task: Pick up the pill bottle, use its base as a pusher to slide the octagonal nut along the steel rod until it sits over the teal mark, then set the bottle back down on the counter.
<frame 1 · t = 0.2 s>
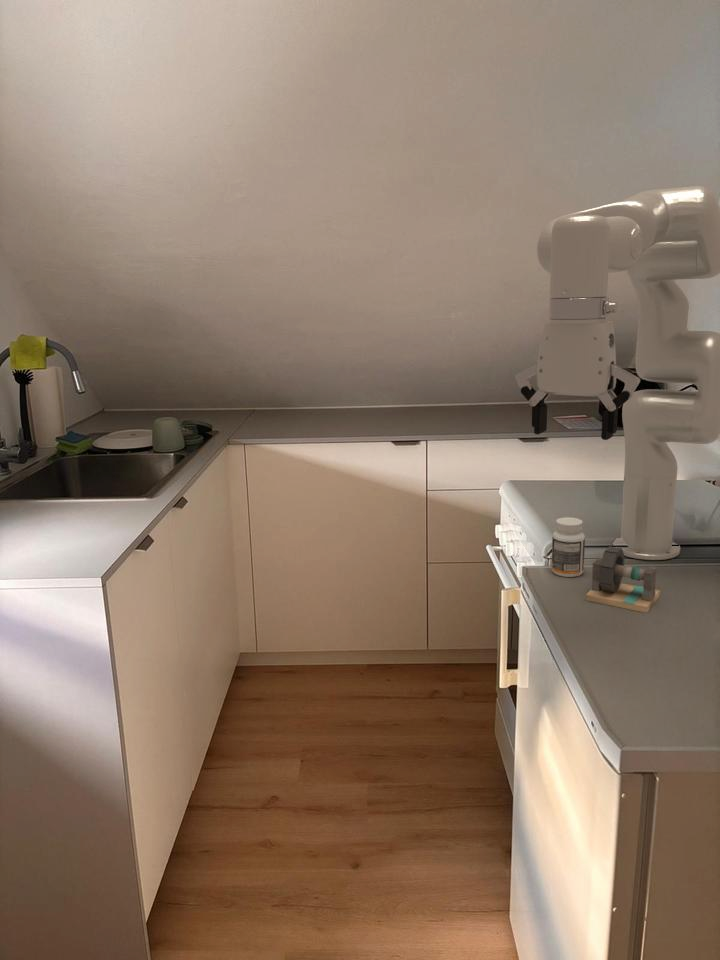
hand: (572, 435, 109), 31 cm above the countertop, tool pointing down, fingers open, 9 cm apart
octagonal nut: (612, 569, 129), point 5 cm above the countertop, slide at 0.0 cm
rail: (622, 598, 129), on the countertop
pill bottle: (567, 573, 142), on the countertop
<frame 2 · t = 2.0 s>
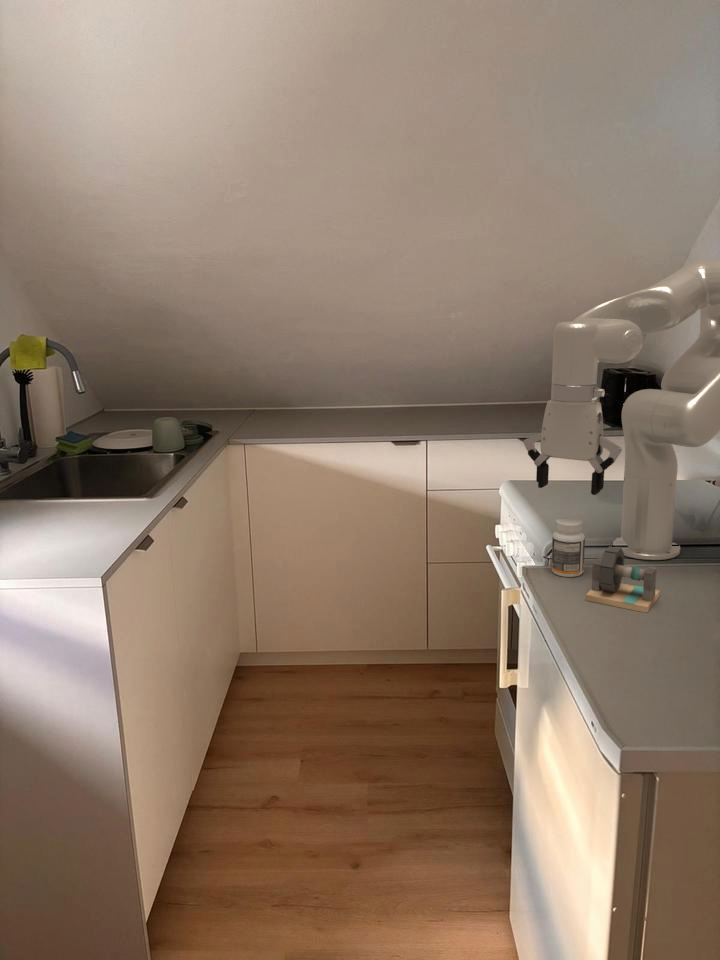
hand: (568, 489, 137), 16 cm above the countertop, tool pointing down, fingers open, 9 cm apart
nothing on the countertop moved.
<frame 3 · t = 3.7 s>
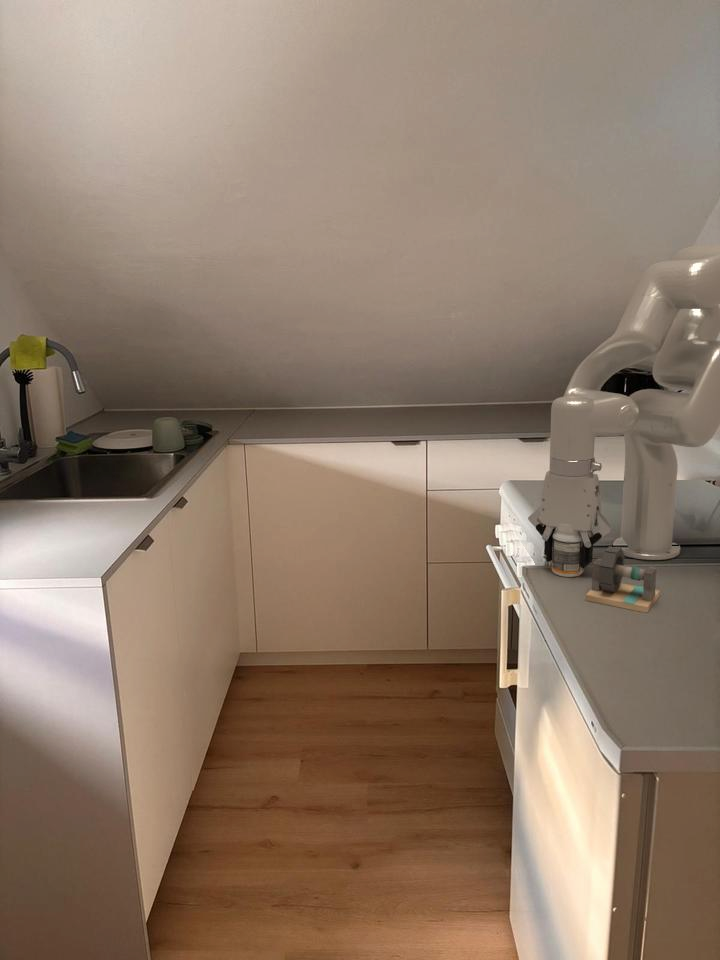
hand: (567, 561, 141), 2 cm above the countertop, tool pointing down, fingers closed on pill bottle, 5 cm apart
pill bottle: (567, 573, 142), on the countertop, touching gripper
everything else where it was.
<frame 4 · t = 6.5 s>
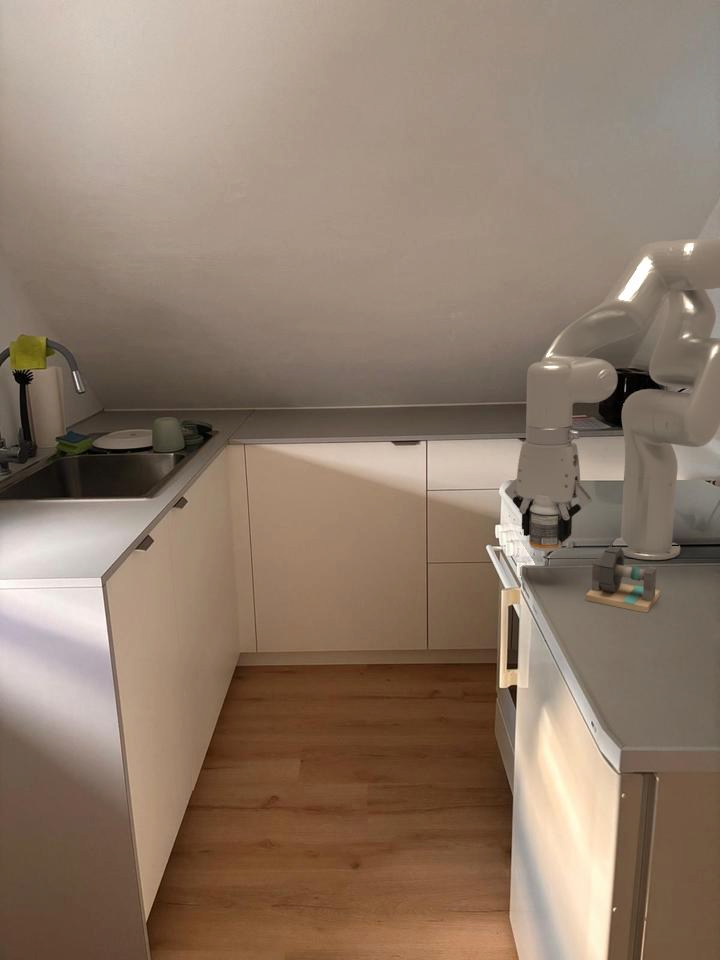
hand: (546, 535, 135), 9 cm above the countertop, tool pointing down, fingers closed on pill bottle, 5 cm apart
pill bottle: (545, 548, 135), point 6 cm above the countertop, touching gripper
everything else where it was.
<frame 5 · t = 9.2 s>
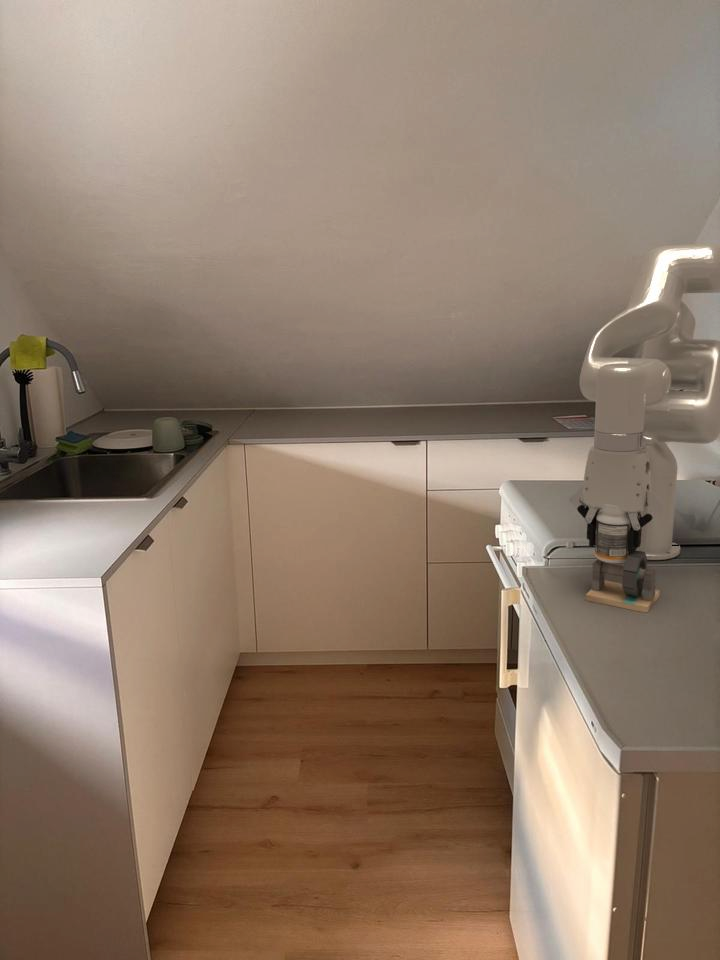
hand: (613, 546, 128), 9 cm above the countertop, tool pointing down, fingers closed on pill bottle, 5 cm apart
octagonal nut: (634, 573, 127), point 5 cm above the countertop, slide at 3.8 cm, touching pill bottle
pill bottle: (612, 559, 129), point 6 cm above the countertop, touching gripper, octagonal nut
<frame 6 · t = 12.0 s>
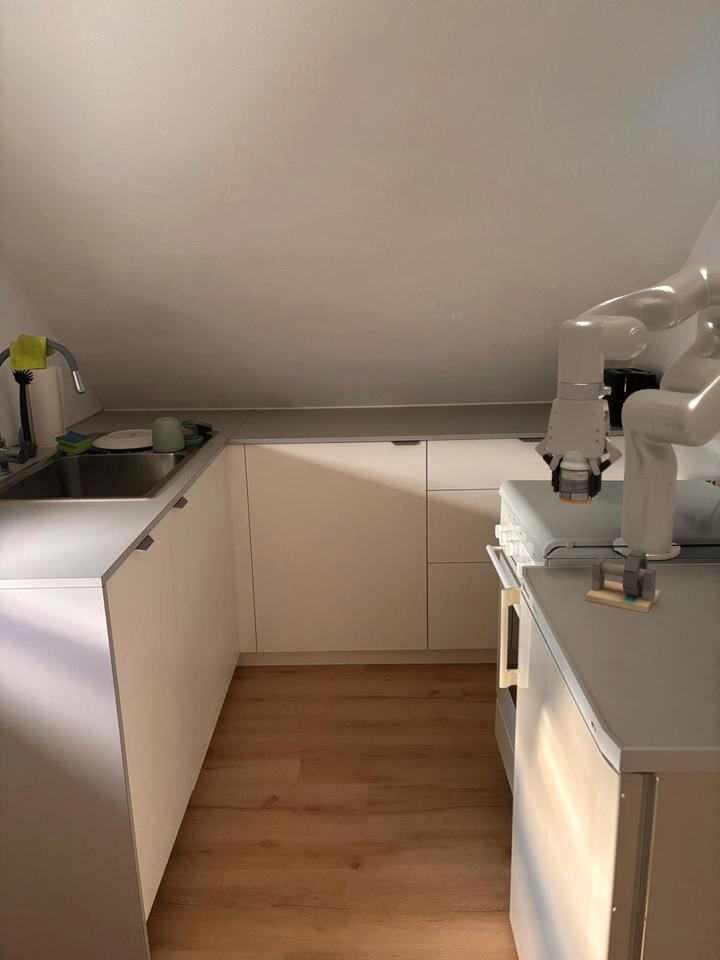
hand: (575, 492, 137), 15 cm above the countertop, tool pointing down, fingers closed on pill bottle, 5 cm apart
octagonal nut: (635, 573, 127), point 5 cm above the countertop, slide at 3.8 cm
pill bottle: (575, 504, 138), point 13 cm above the countertop, touching gripper
when the fingers open (3 cm above the countertop, at t = 14.4 s): pill bottle drops 1 cm, on the countertop.
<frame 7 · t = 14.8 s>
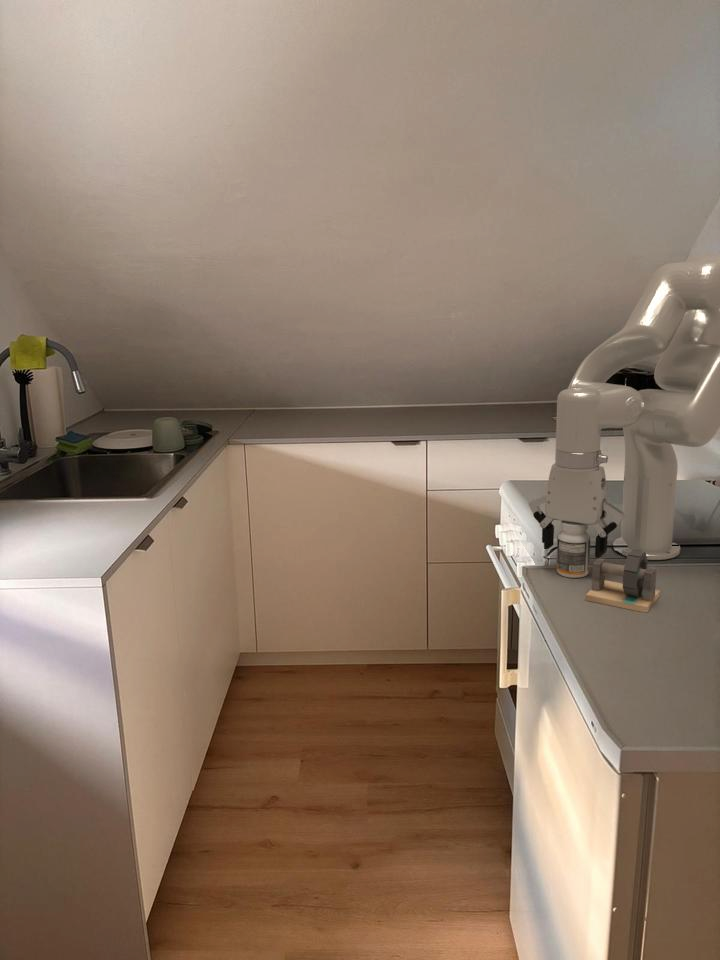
hand: (573, 551, 140), 4 cm above the countertop, tool pointing down, fingers open, 9 cm apart
pill bottle: (572, 574, 141), on the countertop
everything else where it was.
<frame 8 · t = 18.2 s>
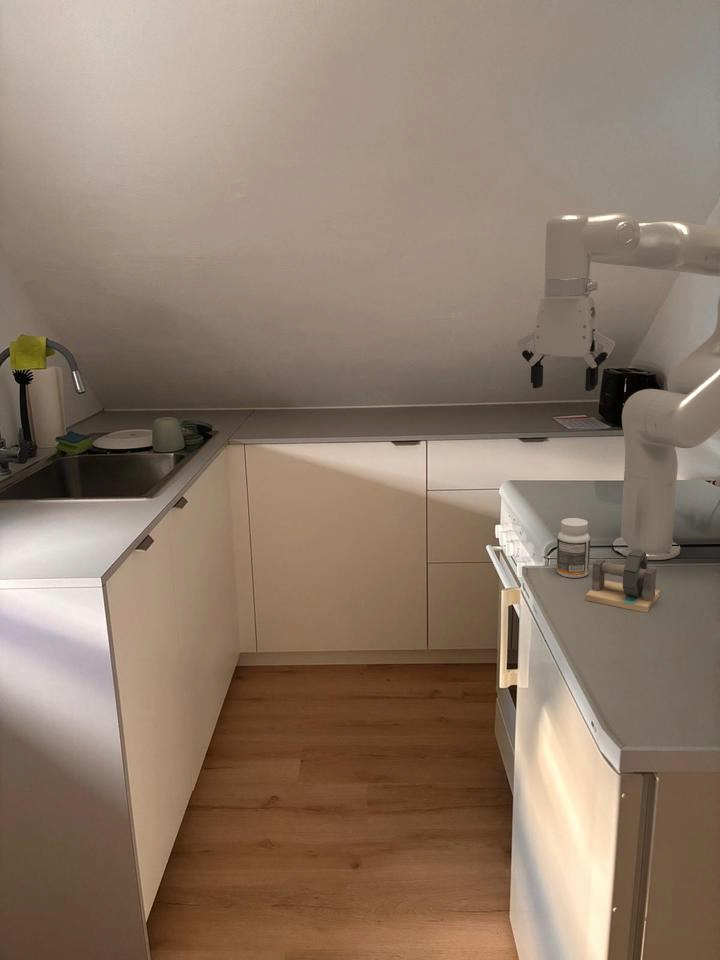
hand: (563, 388, 137), 33 cm above the countertop, tool pointing down, fingers open, 9 cm apart
nothing on the countertop moved.
at the end: octagonal nut slide at 3.8 cm; the gripper is holding nothing; pill bottle tilted 0° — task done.
